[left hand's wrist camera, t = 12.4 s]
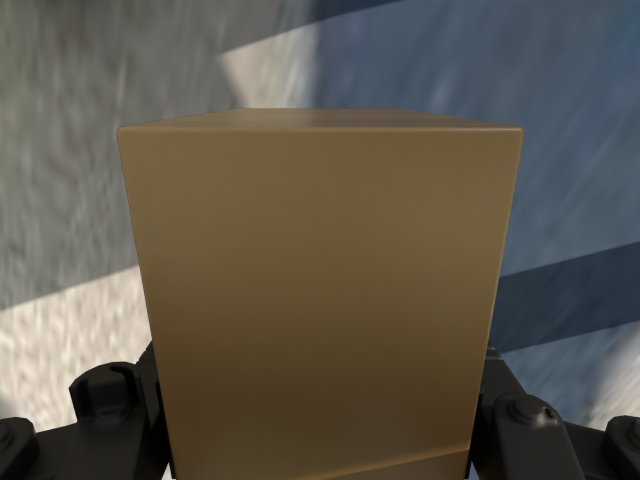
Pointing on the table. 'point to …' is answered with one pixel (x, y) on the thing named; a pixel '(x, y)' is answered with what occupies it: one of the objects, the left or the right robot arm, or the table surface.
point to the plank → (320, 286)
